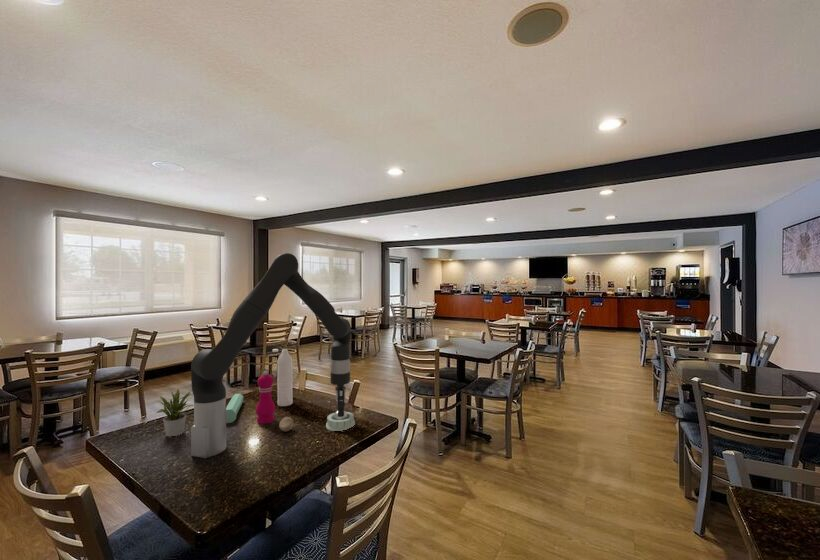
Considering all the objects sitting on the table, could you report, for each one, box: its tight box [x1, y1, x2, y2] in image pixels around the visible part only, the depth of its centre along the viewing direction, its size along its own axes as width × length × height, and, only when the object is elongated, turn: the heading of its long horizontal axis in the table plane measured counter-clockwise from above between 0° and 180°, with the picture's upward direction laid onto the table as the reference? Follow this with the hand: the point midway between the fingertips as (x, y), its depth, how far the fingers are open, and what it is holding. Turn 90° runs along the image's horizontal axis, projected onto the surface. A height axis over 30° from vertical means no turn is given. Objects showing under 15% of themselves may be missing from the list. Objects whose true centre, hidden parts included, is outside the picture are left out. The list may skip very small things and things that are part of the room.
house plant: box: [155, 388, 194, 437], centre depth 129 cm, size 14×14×16 cm
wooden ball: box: [278, 416, 294, 432], centre depth 131 cm, size 5×5×5 cm
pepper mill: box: [255, 370, 276, 425], centre depth 141 cm, size 7×7×20 cm
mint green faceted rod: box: [226, 393, 244, 424], centre depth 151 cm, size 6×6×25 cm
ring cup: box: [325, 411, 356, 432], centre depth 136 cm, size 11×11×4 cm
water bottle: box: [272, 348, 294, 407], centre depth 160 cm, size 9×6×25 cm
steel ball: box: [334, 410, 347, 420], centre depth 136 cm, size 5×5×5 cm
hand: (340, 412), depth 136 cm, fingers open, 8 cm apart
